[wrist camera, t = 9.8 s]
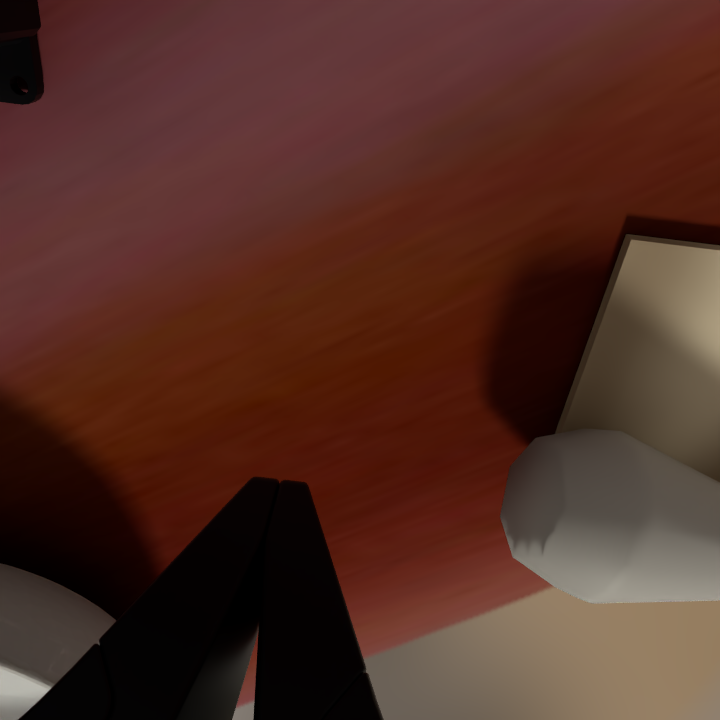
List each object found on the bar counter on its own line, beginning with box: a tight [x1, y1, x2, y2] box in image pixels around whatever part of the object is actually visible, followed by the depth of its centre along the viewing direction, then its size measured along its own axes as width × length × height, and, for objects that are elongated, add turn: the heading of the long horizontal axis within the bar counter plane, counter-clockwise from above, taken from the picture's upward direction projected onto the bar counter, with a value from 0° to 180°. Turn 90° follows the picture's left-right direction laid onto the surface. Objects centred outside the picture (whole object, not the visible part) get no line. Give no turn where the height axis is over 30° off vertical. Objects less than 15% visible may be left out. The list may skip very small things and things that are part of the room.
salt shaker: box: [500, 429, 720, 603], centre depth 22 cm, size 6×6×13 cm
